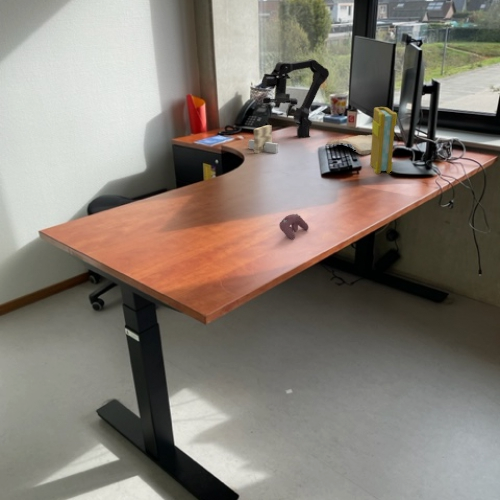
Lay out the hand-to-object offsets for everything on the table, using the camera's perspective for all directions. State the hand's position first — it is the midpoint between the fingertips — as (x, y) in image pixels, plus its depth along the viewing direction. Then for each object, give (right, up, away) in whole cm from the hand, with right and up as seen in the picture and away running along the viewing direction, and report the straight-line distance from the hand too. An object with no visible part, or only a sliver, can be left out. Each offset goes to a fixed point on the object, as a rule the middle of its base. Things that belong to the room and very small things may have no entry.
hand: (278, 117), depth 264 cm
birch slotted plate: (-9, -21, -14) cm, 26 cm away
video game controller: (-2, -68, -110) cm, 129 cm away
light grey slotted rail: (-9, -21, -14) cm, 27 cm away
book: (+42, -37, -50) cm, 75 cm away
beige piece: (+38, -22, -18) cm, 47 cm away
